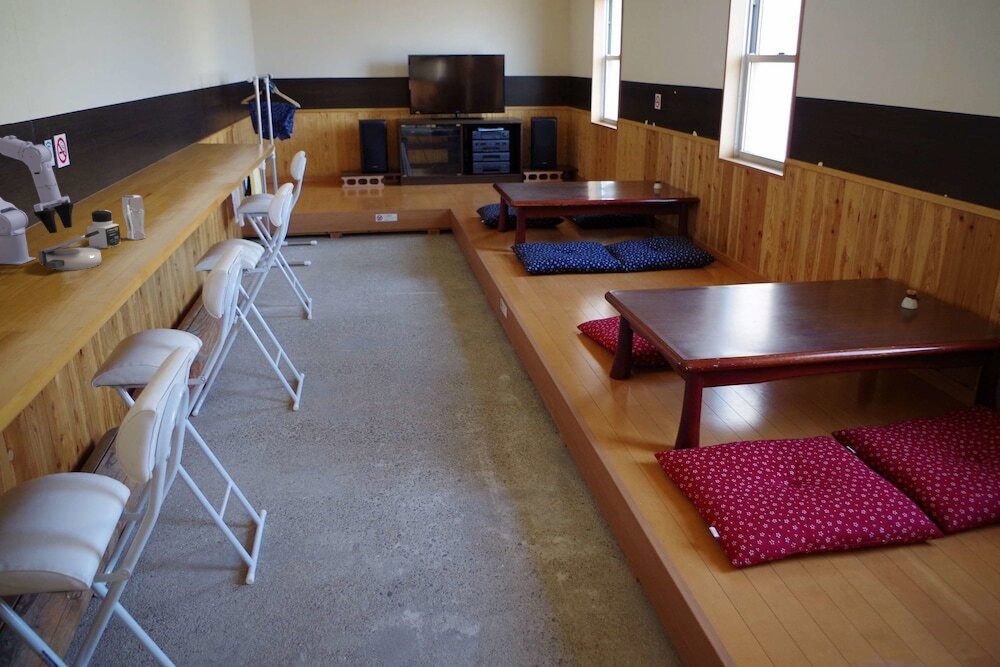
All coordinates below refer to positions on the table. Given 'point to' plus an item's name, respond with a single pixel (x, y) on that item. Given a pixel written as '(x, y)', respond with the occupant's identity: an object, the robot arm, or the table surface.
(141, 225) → the beer glass
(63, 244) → the lid
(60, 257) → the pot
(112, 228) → the medicine bottle
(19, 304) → the table surface
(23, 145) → the robot arm
